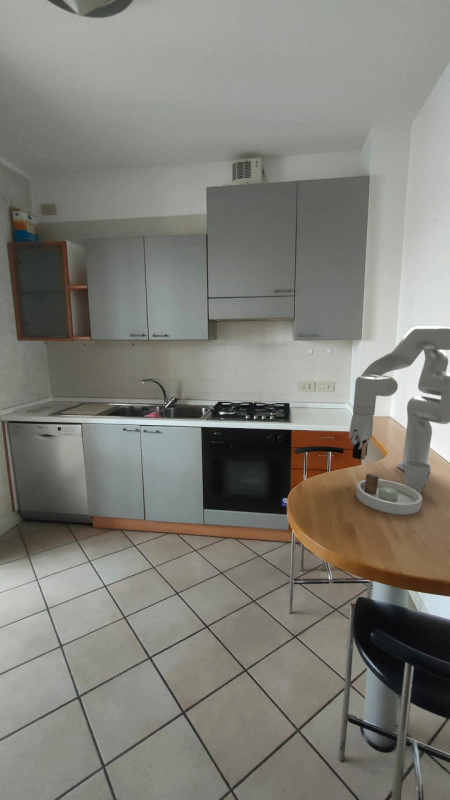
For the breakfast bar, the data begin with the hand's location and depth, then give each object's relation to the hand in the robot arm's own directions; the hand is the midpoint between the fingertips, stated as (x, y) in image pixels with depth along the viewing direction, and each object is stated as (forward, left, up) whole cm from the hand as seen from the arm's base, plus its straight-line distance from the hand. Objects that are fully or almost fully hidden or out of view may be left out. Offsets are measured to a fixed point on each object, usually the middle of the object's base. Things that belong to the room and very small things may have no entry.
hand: (359, 456), depth 136 cm
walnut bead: (+8, +9, -9) cm, 15 cm away
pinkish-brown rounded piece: (0, 0, -1) cm, 1 cm away
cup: (-9, +18, -10) cm, 23 cm away
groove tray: (+8, +15, -10) cm, 19 cm away
